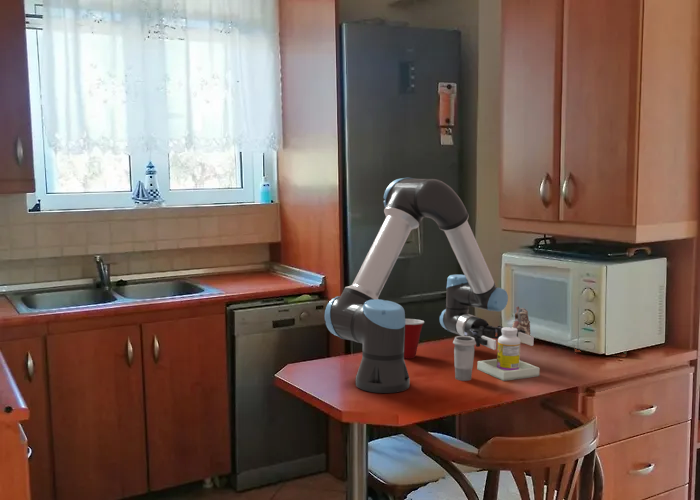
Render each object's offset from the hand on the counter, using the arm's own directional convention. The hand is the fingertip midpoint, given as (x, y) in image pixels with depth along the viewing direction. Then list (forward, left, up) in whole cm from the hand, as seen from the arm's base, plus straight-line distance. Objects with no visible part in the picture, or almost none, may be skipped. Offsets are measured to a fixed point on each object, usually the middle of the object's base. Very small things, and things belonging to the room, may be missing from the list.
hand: (514, 343), depth 223 cm
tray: (0, +2, -10) cm, 10 cm away
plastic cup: (-19, +30, -10) cm, 37 cm away
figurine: (+29, +33, -10) cm, 45 cm away
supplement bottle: (0, +2, -9) cm, 10 cm away
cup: (-16, +2, -10) cm, 19 cm away
